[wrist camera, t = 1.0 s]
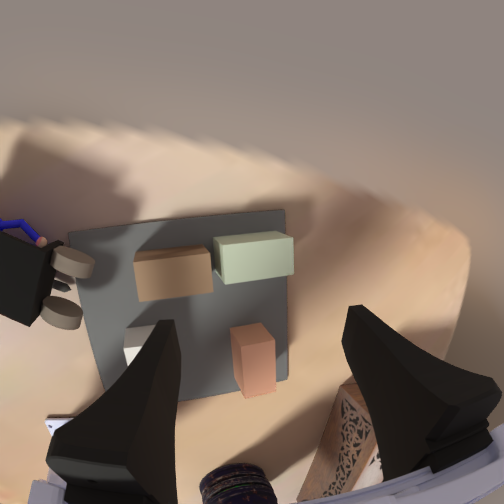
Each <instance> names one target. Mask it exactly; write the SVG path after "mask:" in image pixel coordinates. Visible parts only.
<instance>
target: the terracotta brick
mask: <svg viewBox="0 0 504 504" xmlns="http://www.w3.org/2000/svg"><path fill="white" fill-rule="evenodd" d="M230 336H231V347H232V358H233V369H234V377H235V380H236V382H237V384H238V386H239V388H240V390H241V392H242V394H243V396H244V398H245V399H246V398H250V397H255V396H259V395H263V394H268V393H272V392H276V356H275V339H274V338H273V337H272V335H271V334H270V333H269V332H268V331H267V329H266V328H265V327H264V326H263V325H262V323H261V322H260V323H255V324H249V325H244V326H238V327H232V328H230Z"/></svg>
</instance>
